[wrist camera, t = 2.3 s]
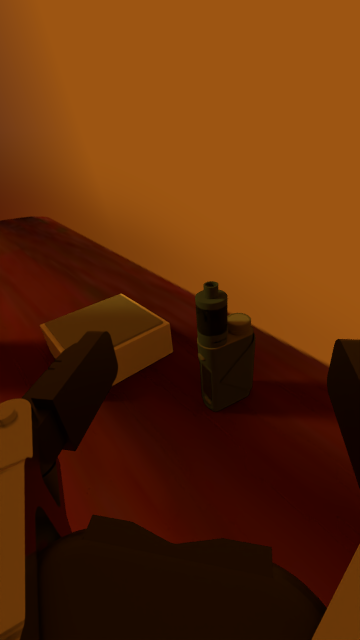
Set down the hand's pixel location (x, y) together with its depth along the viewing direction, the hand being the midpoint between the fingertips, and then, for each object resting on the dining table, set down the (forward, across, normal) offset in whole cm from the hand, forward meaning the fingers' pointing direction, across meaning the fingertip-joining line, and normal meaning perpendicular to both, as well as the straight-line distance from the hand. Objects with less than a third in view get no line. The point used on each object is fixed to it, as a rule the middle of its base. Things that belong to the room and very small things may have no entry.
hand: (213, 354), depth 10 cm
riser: (+17, +15, +14) cm, 26 cm away
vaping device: (+12, 0, +14) cm, 18 cm away
